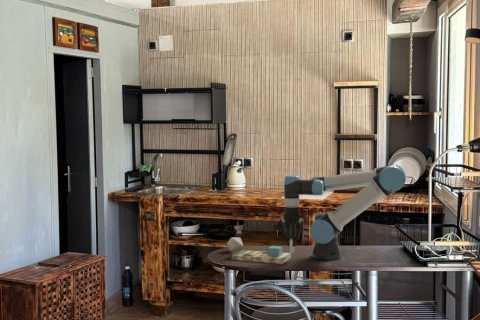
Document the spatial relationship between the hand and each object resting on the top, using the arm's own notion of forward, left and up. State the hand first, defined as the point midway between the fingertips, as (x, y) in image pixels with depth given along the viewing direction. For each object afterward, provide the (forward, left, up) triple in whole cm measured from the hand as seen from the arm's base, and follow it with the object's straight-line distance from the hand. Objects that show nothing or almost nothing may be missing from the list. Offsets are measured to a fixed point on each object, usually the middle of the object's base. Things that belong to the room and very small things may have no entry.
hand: (291, 252), depth 273 cm
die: (+36, -11, -5) cm, 38 cm away
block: (+9, 0, -2) cm, 9 cm away
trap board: (+17, 0, -4) cm, 17 cm away
